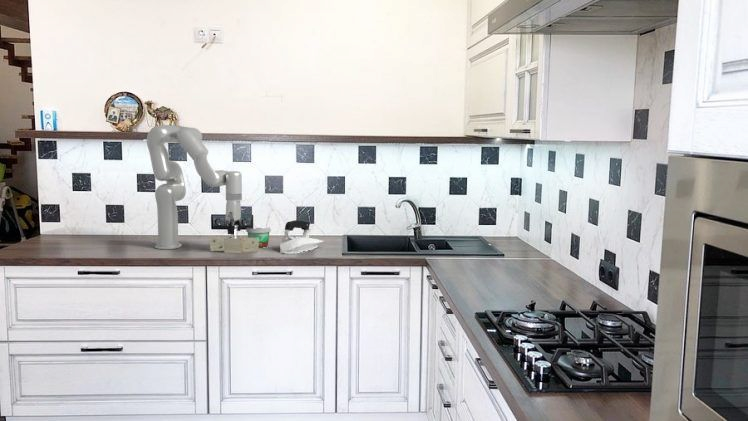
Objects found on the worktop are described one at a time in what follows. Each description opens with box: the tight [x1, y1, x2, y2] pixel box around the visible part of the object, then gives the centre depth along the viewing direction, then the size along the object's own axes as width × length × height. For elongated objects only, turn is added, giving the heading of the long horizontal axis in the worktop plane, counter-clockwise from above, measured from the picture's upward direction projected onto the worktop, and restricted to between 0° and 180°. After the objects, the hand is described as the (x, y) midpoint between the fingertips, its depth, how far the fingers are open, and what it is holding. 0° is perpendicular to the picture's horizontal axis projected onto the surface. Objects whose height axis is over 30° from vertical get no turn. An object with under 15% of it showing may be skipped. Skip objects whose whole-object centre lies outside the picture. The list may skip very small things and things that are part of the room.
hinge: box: [209, 235, 260, 254], centre depth 313 cm, size 24×8×7 cm, turn 85°
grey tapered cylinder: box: [230, 225, 238, 238], centre depth 313 cm, size 4×4×13 cm
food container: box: [245, 227, 272, 249], centre depth 324 cm, size 12×6×10 cm, turn 105°
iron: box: [279, 219, 324, 255], centre depth 319 cm, size 11×24×15 cm, turn 145°
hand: (234, 232), depth 313 cm, fingers open, 9 cm apart
